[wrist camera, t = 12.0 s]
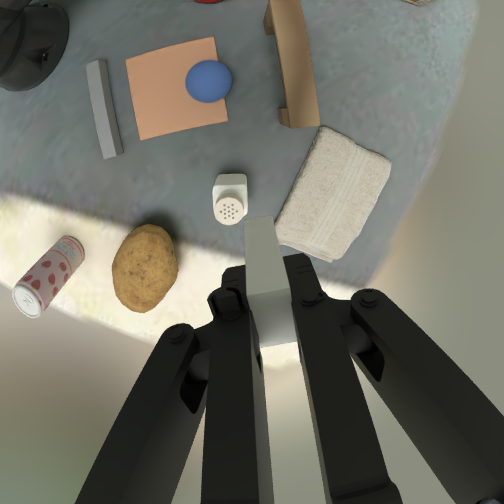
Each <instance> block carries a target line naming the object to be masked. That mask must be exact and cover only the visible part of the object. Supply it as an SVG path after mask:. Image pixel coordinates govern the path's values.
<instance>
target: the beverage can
mask: <svg viewBox="0 0 504 504" xmlns="http://www.w3.org/2000/svg"><path fill="white" fill-rule="evenodd" d="M83 260H84V252H83V249H82V247H81V245H80V243H79V242H78V241H77V240H75V239H74V238H72V237H68V236H65V237H62V238H61V239H60V240H59V241H58V242H57V243H55V244H54V245H53V246H52V247H51V248H50V249H49V250H48V251H47V252H46V253H45V254H44V255H43V256H42V257H41V258H40V259H39V260H38V261H37V262H36V263H35V264H34V265H33V266H32V267H31V269H30V270H29V271H28V272H27V273H26V274H25V275H24V276H23V277H22V278H21V279H20V280H19V281H18V283H17V284H16V285H15V287H14V289H13V292H12V296H13V300H14V302H15V304H16V306H17V307H18V309H19V310H20V311H21V312H22V313H23V314H25V315H26V316H28V317H30V318H37V317H39V316H40V315H41V314H42V313H43V312H44V311H45V309H46V308H47V307H48V305H49V304H50V302H51V301H52V300H53V298H54V297H55V296H56V295H57V293H58V292H59V291H60V289H61V288H62V287H63V285H64V284H65V283H66V282H67V280H68V279H69V278H70V277H71V275H72V274H73V273H74V272H75V270H76V269H77V268H78V267H79V266H80V264H81V263H82V262H83Z"/></svg>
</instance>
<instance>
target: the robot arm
mask: <svg viewBox="0 0 504 504" xmlns="http://www.w3.org/2000/svg"><path fill="white" fill-rule="evenodd" d="M31 1H32V0H0V87H2V88H5V89H6V90H9V91H25V90H29V89H32V88H34V87H36V86H37V85H39V84H40V83H41V82H42V81H44V80H45V79H46V78H47V77H48V76H49V74H50V73H51V72H52V71H53V69H54V68H55V66H56V65H57V63H58V62H59V60H60V58H61V56H62V54H63V51H64V49H65V46H66V43H67V39H68V32H69V23H68V18H67V15H66V13H65V12H64V10H63V9H62V8H60V7H59V6H56V5H53V4H50V3H35V4H29V3H30V2H31ZM28 4H29V5H28ZM244 229H245V262H246V265H241V266H235V267H230V268H227V269H226V270H225V272H224V273H223V275H222V283H221V287H220V288H218V289H216V290H214V291H213V292H212V293H211V294H210V295H209V296H208V299H207V301H208V304H209V307H210V309H211V312H212V315H213V321H211V322H210V323H208V324H206V325H204V326H202V327H199V328H197V329H194V328H193V327H192V326H191V325H189V324H185V323H181V324H176V325H173V326H171V327H169V328H168V329H166V330H165V331H164V333H163V334H162V335H161V337H160V339H159V340H158V342H157V344H156V346H155V348H154V350H153V351H152V353H151V355H150V357H149V358H148V360H147V362H146V364H145V366H144V368H143V370H142V371H141V373H140V375H139V377H138V379H137V381H136V382H135V384H134V386H133V388H132V390H131V392H130V393H129V395H128V397H127V399H126V401H125V403H124V405H123V407H122V409H121V411H120V412H119V414H118V416H117V418H116V420H115V422H114V424H113V426H112V428H111V430H110V432H109V434H108V436H107V438H106V440H105V442H104V444H103V446H102V448H101V450H100V452H99V454H98V456H97V458H96V460H95V462H94V464H93V466H92V468H91V470H90V472H89V474H88V476H87V479H86V481H85V483H84V485H83V487H82V489H81V491H80V493H79V495H78V498H77V500H76V502H75V504H171V502H172V499H173V496H174V494H175V491H176V488H177V485H178V483H179V480H180V477H181V474H182V471H183V469H184V466H185V463H186V460H187V458H188V455H189V452H190V449H191V446H192V444H193V441H194V438H195V435H196V432H197V429H198V427H199V424H200V421H201V418H202V415H203V413H204V409H205V407H206V413H205V428H204V445H203V446H204V447H203V463H202V464H203V465H202V486H201V503H200V504H274V494H273V482H272V470H271V458H270V446H269V435H268V423H267V411H266V399H265V387H264V374H263V362H262V356H261V352H260V347H261V348H262V347H268V346H274V345H279V344H285V343H290V342H296V341H297V342H298V349H299V356H300V363H301V365H302V369H303V374H304V380H305V385H306V390H307V396H308V400H309V406H310V412H311V417H312V423H313V428H314V433H315V439H316V445H317V450H318V456H319V462H320V468H321V474H322V480H323V486H324V493H325V499H326V504H403V503H402V499H401V496H400V493H399V490H398V488H397V486H396V485H395V484H394V483H393V482H392V481H391V480H390V478H389V476H388V473H387V469H386V465H385V462H384V458H383V455H382V451H381V448H380V444H379V441H378V438H377V434H376V431H375V428H374V425H373V421H372V418H371V415H370V412H369V409H368V406H367V403H366V400H365V396H364V393H363V390H362V387H361V384H360V382H359V379H358V376H357V373H356V370H355V367H354V364H353V361H352V358H353V360H354V361H355V362H356V364H357V365H358V366H359V368H360V369H361V371H362V372H363V373H364V374H365V376H366V378H367V379H368V380H369V382H370V383H371V384H372V386H373V387H374V389H375V390H376V391H377V393H378V394H379V395H380V397H381V398H382V400H383V401H384V403H385V404H386V405H387V407H388V408H389V409H390V411H391V412H392V414H393V415H394V417H395V418H396V419H397V421H398V422H399V424H400V425H401V426H402V428H403V429H404V431H405V432H406V433H407V435H408V436H409V438H410V439H411V440H412V442H413V443H414V445H415V446H416V448H417V449H418V451H419V452H420V453H421V455H422V456H423V458H424V459H425V461H426V462H427V464H428V465H429V466H430V468H431V469H432V471H433V472H434V473H435V475H436V477H437V478H438V480H439V481H440V482H441V484H442V485H443V487H444V488H445V490H446V491H447V492H448V494H449V495H450V496H451V498H452V499H453V500H454V502H455V503H456V504H504V416H503V415H502V414H501V413H500V412H499V411H498V409H497V408H496V407H495V406H494V405H493V404H492V402H491V401H490V400H489V399H488V398H487V397H486V396H485V395H484V393H483V392H482V391H481V390H480V389H479V388H478V387H477V386H476V385H475V384H474V383H473V381H472V380H471V379H470V378H469V377H468V376H467V375H466V374H465V373H464V372H463V371H462V370H461V369H460V368H459V367H458V366H457V365H456V363H455V362H453V360H452V359H451V358H450V357H449V356H447V354H446V353H445V352H444V351H443V350H442V349H441V348H440V347H439V346H438V345H437V344H436V343H435V342H434V341H433V340H432V339H431V338H430V337H429V336H428V335H427V334H426V333H425V332H424V331H423V330H422V329H421V328H420V327H418V325H417V324H416V323H415V322H414V321H413V320H411V319H410V318H409V317H408V316H407V315H406V314H405V313H404V312H403V311H402V310H401V309H400V308H399V307H398V306H397V305H396V304H395V303H394V302H393V301H391V300H390V299H389V298H388V297H387V296H386V295H385V294H384V293H382V292H380V291H379V290H375V289H362V290H359V291H357V292H356V293H354V294H353V296H352V297H351V300H338V299H333V298H331V297H329V296H328V295H327V294H326V293H325V292H324V291H323V290H322V288H321V286H320V283H319V280H318V278H317V275H316V273H315V271H314V268H313V266H312V263H311V260H310V258H309V257H308V256H306V255H305V254H304V253H300V254H294V255H289V256H284V257H282V253H281V249H280V245H279V241H278V238H277V234H276V230H275V226H274V222H273V218H272V215H270V216H264V217H259V218H254V219H249V220H244ZM259 343H260V345H259ZM350 355H351V356H350ZM351 357H352V358H351Z"/></svg>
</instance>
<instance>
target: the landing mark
mask: <svg viewBox="0 0 504 504" xmlns="http://www.w3.org/2000/svg"><path fill="white" fill-rule="evenodd" d="M205 60H215V61H218V58H217V52H216V46H215V40H214V36H213V37H208V38H203V39H198V40H194V41H189V42H185V43H181V44H177V45H173V46H169V47H165V48H162V49H158V50H155V51H151V52H148V53H145V54H142V55H139V56H136V57H133V58H130V59H127V60H126V66H127V72H128V78H129V84H130V90H131V96H132V101H133V106H134V111H135V116H136V121H137V126H138V131H139V136H140V140H145V139H148V138H152V137H156V136H160V135H164V134H168V133H172V132H176V131H181V130H185V129H190V128H195V127H200V126H205V125H210V124H215V123H221V122H226V121H228V117H227V111H226V105H225V99H224V97H223V98H222V99H220V100H219V101H216V102H213V103H203V102H199V101H197V100H195V99H193V98H192V97H191V96H190V95H189V93H188V92H187V89H186V86H185V79H186V75H187V73H188V71H189V70H190V69H191V68H192V67H193V66H194V65H195V64H197V63H199V62H201V61H205Z"/></svg>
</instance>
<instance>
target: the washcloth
mask: <svg viewBox="0 0 504 504" xmlns="http://www.w3.org/2000/svg"><path fill="white" fill-rule="evenodd" d="M391 166H392V163H391V161H389V160H388V159H387V158H385V157H383V156H381V155H380V154H377V153H374V152H372V151H370V150H369V151H368V150H366V149H364V148H363V147H361V146H359V145H357V144H356V143H355V142H354V141H353V140H351V139H349V138H348V137H346V136H343V134H340V133H338V132H335V131H334V130H332V129H329V128H328V127H324V126H322V127H320V129H319V131H318V133H317V136H316V138H315V140H314V141H313V145H312V146H311V147H310V151H309V153H308V156H307V158H306V159H305V162H304V163H303V166H302V167H301V169H300V172H299V174H298V175H297V177H296V180H295V182H294V184H293V188H292V190H291V191H290V194H289V196H288V198H287V201H286V202H285V204H284V206H283V209H282V211H281V212H280V214H279V216H278V218H277V220H276V221H275V224H274V226H275V230H276V234H277V238H278V241H279V245H280V244H281V245H287V246H290V247H293V248H295V249H297V250H300V251H302V252H305V253H307V254H310V255H312V256H315V257H317V258H320V259H323V260H325V261H328V262H329V263H331V262H332V261H333V259H340V258H341V257H342V256H343V255H344V253H345V252H346V251H347V249H348V247H349V246H350V244H351V243H352V242H353V240H354V239H355V238H356V237H358V236H359V234H360V232H361V230H362V227H363V225H364V224H365V222H366V219H367V218H368V216H369V214H370V213H371V211H372V209H373V207H374V206H375V203H376V202H377V199H378V197H379V194H380V192H381V191H382V189H383V187H384V185H385V183H386V181H387V179H388V178H389V175H390V171H391Z"/></svg>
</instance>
